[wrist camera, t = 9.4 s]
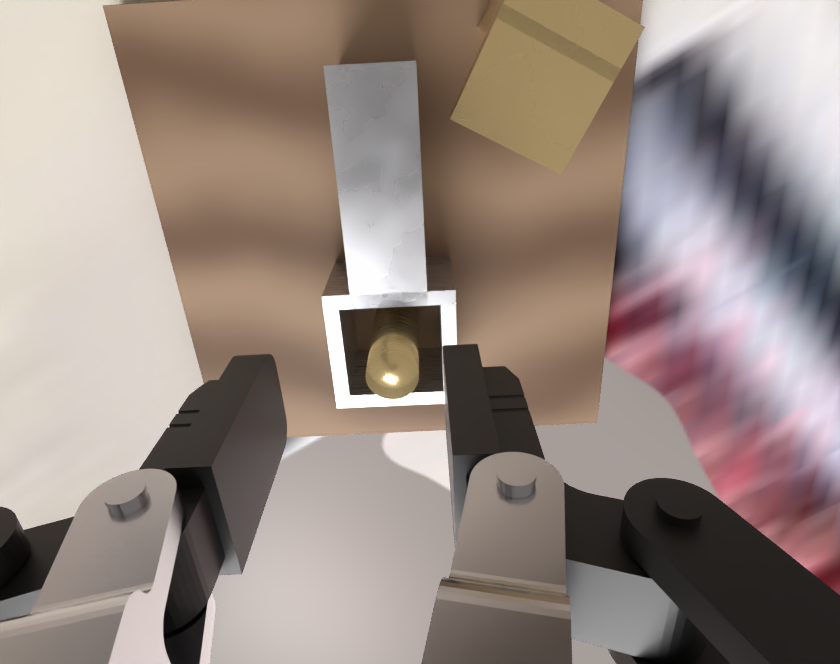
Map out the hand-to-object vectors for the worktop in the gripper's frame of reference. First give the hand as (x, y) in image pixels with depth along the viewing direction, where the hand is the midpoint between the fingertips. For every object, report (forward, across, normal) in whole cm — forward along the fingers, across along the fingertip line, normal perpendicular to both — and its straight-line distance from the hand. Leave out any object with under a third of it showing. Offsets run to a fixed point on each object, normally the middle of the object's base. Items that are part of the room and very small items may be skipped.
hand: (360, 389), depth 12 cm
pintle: (+14, 0, +4) cm, 15 cm away
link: (+14, 0, +1) cm, 14 cm away
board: (+15, 0, +2) cm, 15 cm away
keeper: (+14, -5, -5) cm, 16 cm away
